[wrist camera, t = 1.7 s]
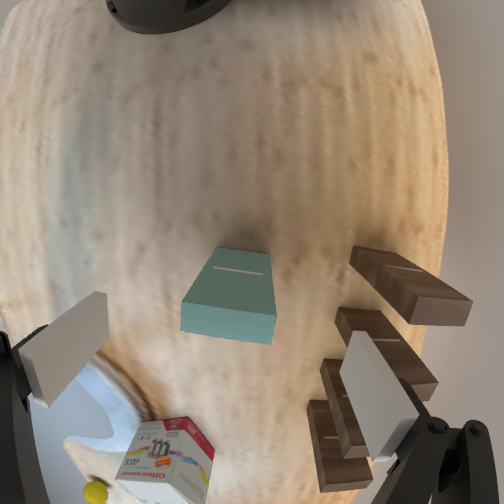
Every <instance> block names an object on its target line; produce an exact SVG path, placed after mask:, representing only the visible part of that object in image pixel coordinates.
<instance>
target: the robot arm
mask: <svg viewBox="0 0 504 504" xmlns="http://www.w3.org/2000/svg"><path fill="white" fill-rule="evenodd" d="M230 1H231V0H106V4H107V7H108V10H109V12H110V13H111V15H112V16H113V17H114V18H115V19H116V20H117V21H118V22H119V23H120V24H121V25H122V26H123V27H125V28H126V29H128V30H131V31H134V32H138V33H144V34H159V33H167V32H172V31H176V30H180V29H183V28H186V27H189V26H192V25H195V24H197V23H199V22H201V21H203V20H205V19H207V18H209V17H211V16H212V15H214V14H215V13H217V12H218V11H220V10H221V9H222V8H224V7H225V6H226V5H227V4H228V3H229V2H230ZM109 338H110V335H109V323H108V308H107V294H106V293H102V292H98V291H94V292H93V293H92V294H90V295H89V296H87V297H86V298H85V299H83V300H82V301H81V302H79V303H78V304H76V305H75V306H74V307H72V308H71V309H70V310H68V311H67V312H66V313H64V314H63V315H62V316H60V317H59V318H58V319H56V320H55V321H54V322H52V323H51V324H50V325H48V324H47V325H44V326H42V327H39V328H37V329H36V330H35V331H33V332H32V334H30V335H28V336H27V338H24V339H23V340H22V341H20V342H19V343H18V344H17V345H15V346H14V347H13V348H12V349H11V346H10V342H9V338H8V335H7V334H6V333H5V332H2V331H0V504H50V501H49V498H48V495H47V492H46V488H45V485H44V481H43V477H42V474H41V469H40V466H39V461H38V456H37V451H36V446H35V440H34V434H33V428H32V421H31V412H30V403H29V400H28V397H27V396H28V395H29V394H30V393H31V392H32V394H33V397H34V400H35V402H36V403H39V404H40V405H42V406H44V407H46V408H49V407H50V406H51V405H52V404H53V402H54V401H55V400H56V399H57V397H58V396H59V395H60V394H61V393H62V392H63V390H64V389H65V388H66V387H67V385H68V384H69V383H70V382H71V381H72V380H73V379H74V377H75V376H76V375H77V374H78V373H79V372H80V370H81V369H82V368H83V367H84V366H85V365H86V364H87V362H88V361H89V360H90V359H91V358H92V357H93V356H94V354H95V353H96V352H97V351H98V350H99V349H100V348H101V347H102V345H103V344H104V343H105V342H106V341H107V340H108V339H109ZM339 373H340V376H341V378H342V381H343V384H344V386H345V389H346V391H347V394H348V397H349V399H350V402H351V405H352V407H353V410H354V413H355V415H356V418H357V421H358V423H359V426H360V429H361V432H362V434H363V437H364V440H365V443H366V445H367V448H368V451H369V454H370V457H371V460H372V462H373V463H374V462H381V461H388V460H389V459H390V458H391V457H392V455H393V454H394V452H396V454H397V457H398V459H397V460H396V461H395V463H394V464H393V465H392V467H391V468H390V469H389V470H388V471H387V473H388V476H387V478H386V480H385V481H384V483H383V485H382V486H381V488H380V490H379V491H378V493H377V495H376V496H375V498H374V500H373V501H372V503H371V504H428V502H429V500H430V497H431V494H432V499H431V504H499V495H498V485H497V476H496V469H495V462H494V457H493V451H492V446H491V441H490V436H489V432H488V429H487V427H486V426H485V425H484V424H483V423H482V422H480V421H477V420H469V421H467V422H466V424H465V425H464V427H463V428H462V429H459V428H450V427H449V426H448V424H447V423H446V422H445V421H444V420H442V419H440V418H437V417H431V416H430V414H429V413H428V411H427V409H426V408H425V406H424V405H423V403H422V402H421V400H420V399H418V398H419V397H418V396H417V394H416V393H415V391H414V389H413V388H412V386H411V385H410V384H409V383H408V382H406V381H405V380H404V379H403V378H400V379H397V378H396V376H395V374H394V373H393V371H392V370H391V368H390V367H389V365H388V364H387V362H386V361H385V359H384V358H383V356H382V354H381V353H380V351H379V350H378V348H377V347H376V345H375V344H374V342H373V341H372V339H371V338H370V336H369V335H368V334H367V332H366V331H353V333H352V336H351V339H350V342H349V345H348V348H347V351H346V354H345V357H344V360H343V363H342V366H341V369H340V372H339Z"/></svg>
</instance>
